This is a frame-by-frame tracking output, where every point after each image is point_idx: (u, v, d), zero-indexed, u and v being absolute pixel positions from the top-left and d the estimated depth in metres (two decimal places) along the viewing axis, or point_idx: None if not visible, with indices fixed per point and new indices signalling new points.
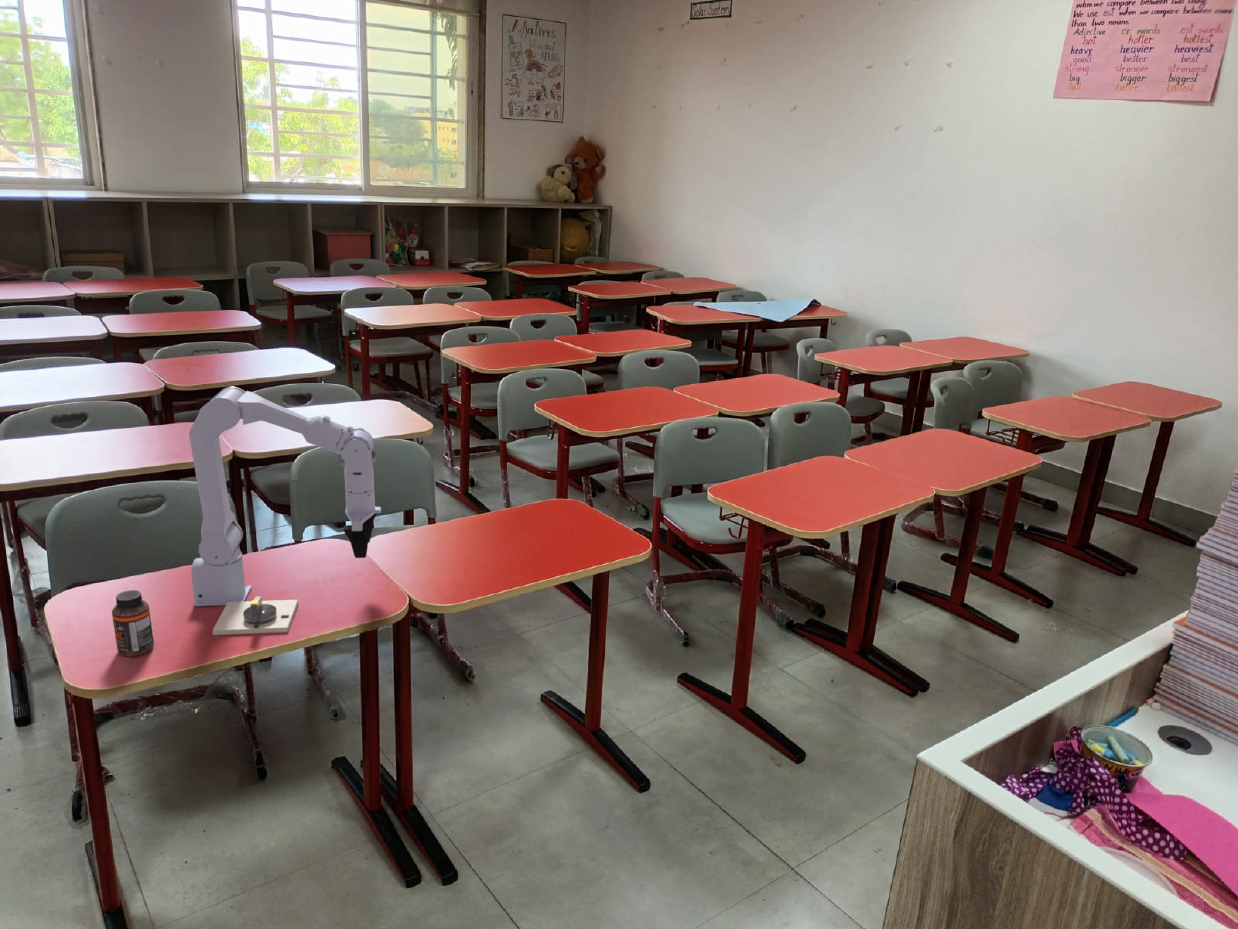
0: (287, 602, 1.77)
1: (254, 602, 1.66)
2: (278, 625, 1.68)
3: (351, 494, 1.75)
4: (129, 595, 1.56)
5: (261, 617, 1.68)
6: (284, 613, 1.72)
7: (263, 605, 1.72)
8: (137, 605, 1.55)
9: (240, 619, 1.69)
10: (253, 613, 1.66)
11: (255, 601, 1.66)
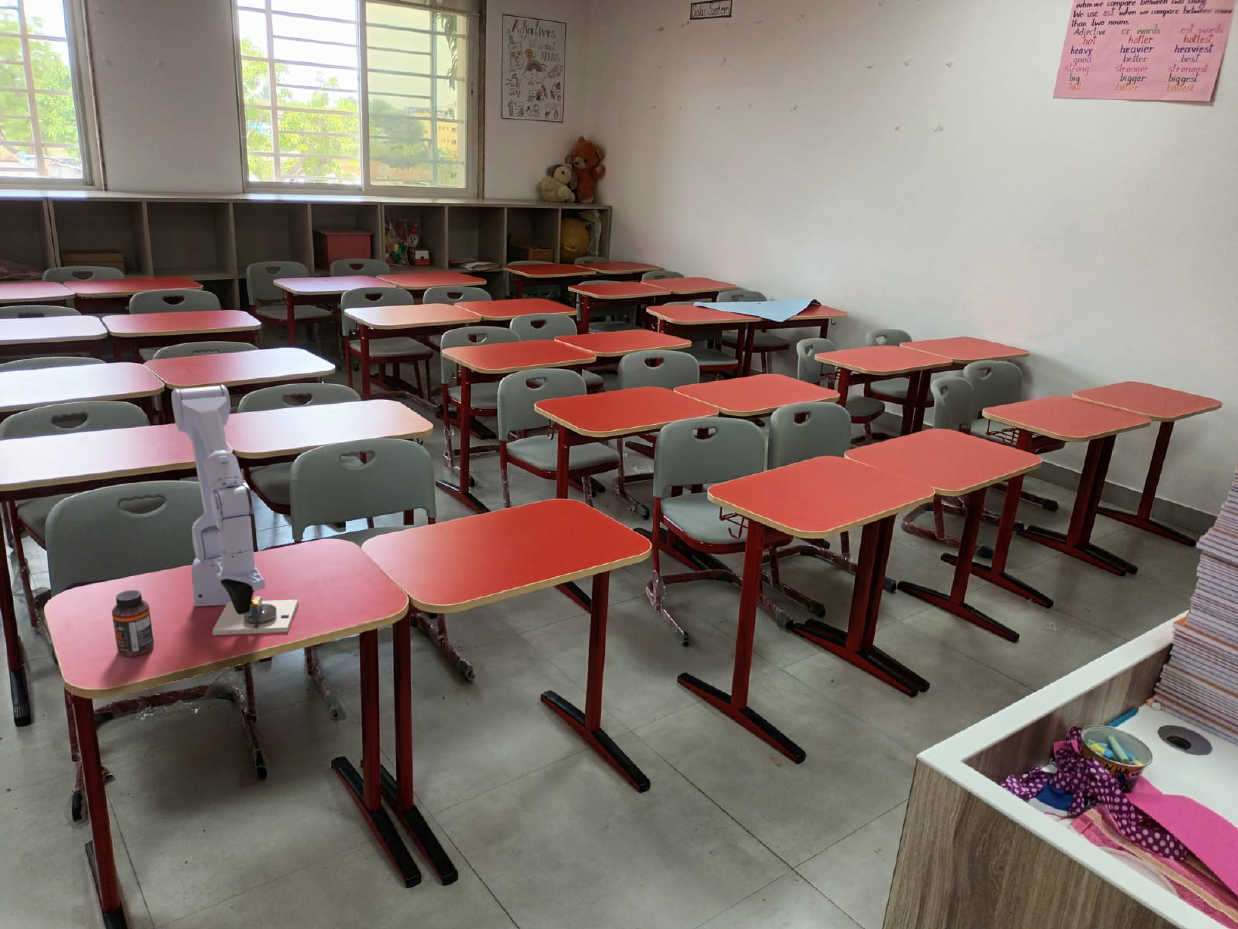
0: (287, 602, 1.77)
1: (254, 602, 1.66)
2: (278, 625, 1.68)
3: None
4: (129, 595, 1.56)
5: (261, 617, 1.68)
6: (284, 613, 1.72)
7: (263, 605, 1.72)
8: (137, 605, 1.55)
9: (240, 619, 1.69)
10: (253, 613, 1.66)
11: (255, 601, 1.66)
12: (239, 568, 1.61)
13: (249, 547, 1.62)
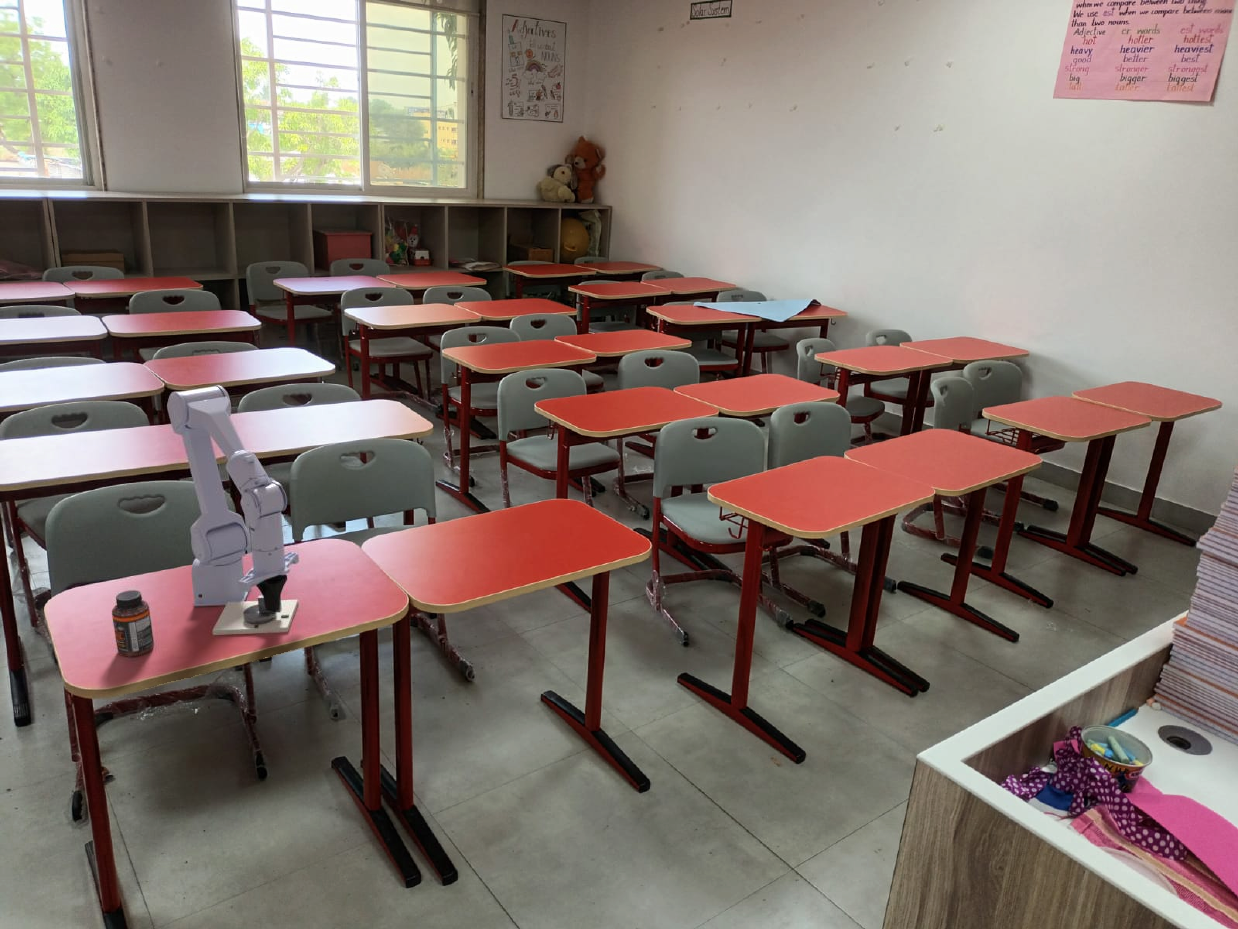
0: (287, 602, 1.77)
1: None
2: (278, 625, 1.68)
3: (252, 550, 1.62)
4: (129, 595, 1.56)
5: None
6: (284, 613, 1.72)
7: (248, 610, 1.70)
8: (137, 605, 1.55)
9: (240, 619, 1.69)
10: None
11: None
12: None
13: (282, 543, 1.64)
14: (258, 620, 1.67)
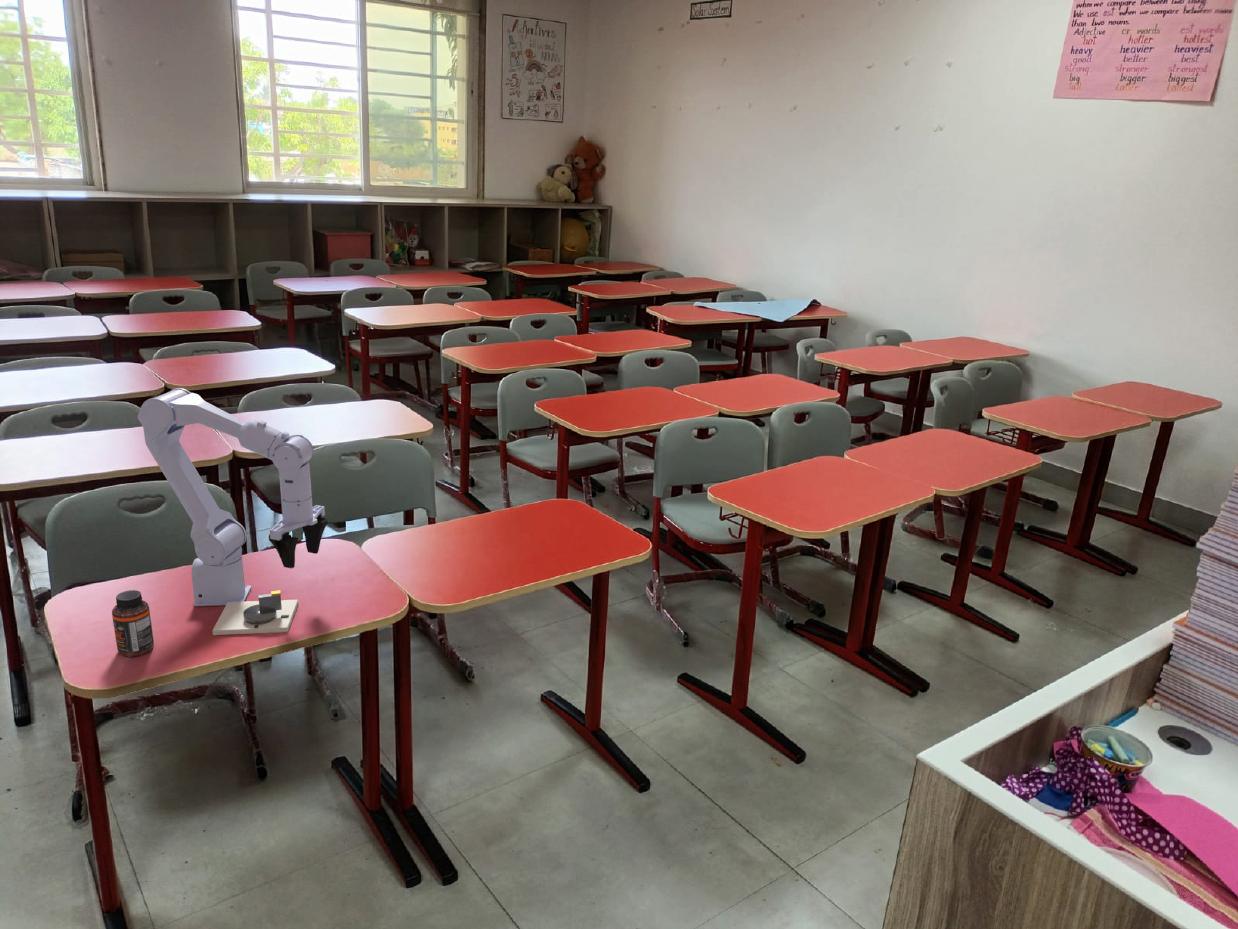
0: (287, 602, 1.77)
1: (277, 591, 1.70)
2: (278, 625, 1.68)
3: (282, 501, 1.70)
4: (129, 595, 1.56)
5: None
6: (284, 613, 1.72)
7: (247, 612, 1.69)
8: (137, 605, 1.55)
9: (240, 619, 1.69)
10: None
11: (275, 591, 1.70)
12: None
13: None
14: (263, 619, 1.68)
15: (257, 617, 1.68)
